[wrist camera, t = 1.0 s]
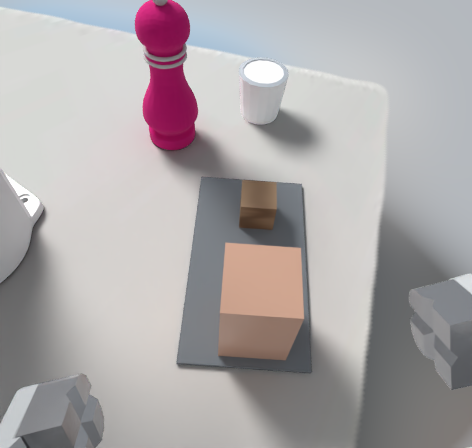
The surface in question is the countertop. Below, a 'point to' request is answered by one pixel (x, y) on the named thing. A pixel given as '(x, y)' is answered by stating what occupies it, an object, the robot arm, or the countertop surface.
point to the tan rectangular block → (260, 301)
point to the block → (258, 204)
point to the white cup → (261, 89)
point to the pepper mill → (166, 74)
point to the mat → (211, 272)
